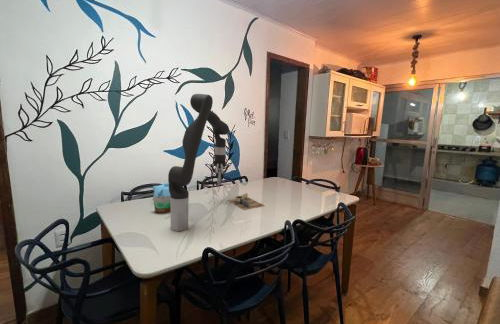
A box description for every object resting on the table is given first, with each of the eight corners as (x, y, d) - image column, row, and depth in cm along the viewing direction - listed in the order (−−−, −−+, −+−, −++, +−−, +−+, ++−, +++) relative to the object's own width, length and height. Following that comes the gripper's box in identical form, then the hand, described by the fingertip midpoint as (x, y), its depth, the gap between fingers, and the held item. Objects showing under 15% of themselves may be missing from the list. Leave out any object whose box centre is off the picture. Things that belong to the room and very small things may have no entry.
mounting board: (227, 202, 177) (227, 200, 177) (247, 198, 188) (247, 197, 187) (243, 211, 160) (244, 210, 159) (265, 207, 170) (265, 205, 170)
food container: (151, 214, 147) (151, 198, 146) (152, 211, 153) (152, 195, 151) (172, 213, 150) (172, 198, 149) (173, 210, 156) (173, 195, 155)
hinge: (230, 200, 177) (230, 195, 176) (246, 198, 185) (246, 193, 184) (244, 208, 162) (245, 202, 161) (261, 205, 170) (261, 200, 169)
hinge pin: (223, 183, 170) (223, 168, 168) (218, 184, 167) (218, 168, 166) (220, 182, 173) (220, 167, 171) (215, 183, 170) (215, 167, 168)
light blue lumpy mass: (180, 204, 167) (180, 185, 165) (155, 207, 160) (155, 187, 158) (175, 196, 183) (175, 179, 181) (152, 199, 176) (151, 180, 174)
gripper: (230, 153, 171) (229, 177, 174) (210, 152, 170) (209, 176, 173) (230, 154, 163) (229, 180, 166) (209, 153, 162) (208, 179, 165)
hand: (219, 178), depth 169 cm, fingers closed on hinge pin, 2 cm apart
